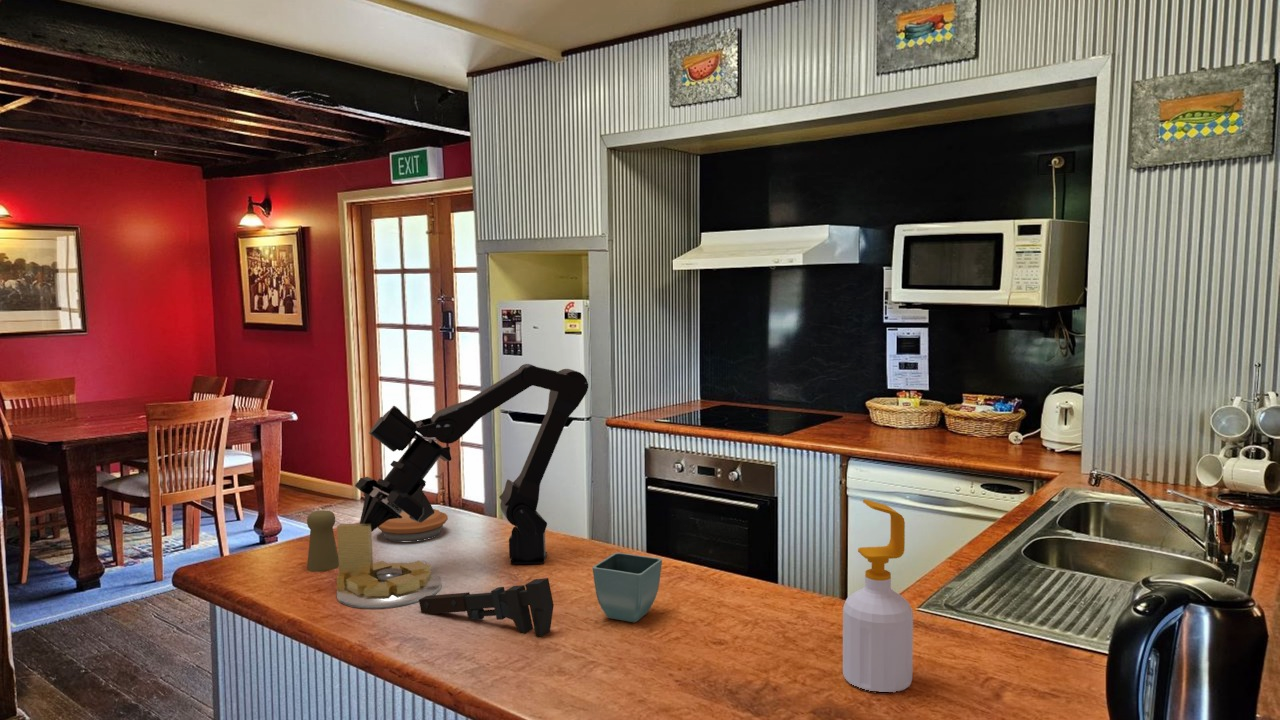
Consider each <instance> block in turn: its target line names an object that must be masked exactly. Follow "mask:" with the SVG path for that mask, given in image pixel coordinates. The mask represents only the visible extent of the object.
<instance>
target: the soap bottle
mask: <svg viewBox="0 0 1280 720" xmlns="http://www.w3.org/2000/svg"><path fill="white" fill-rule="evenodd" d="M862 503H863V504H865V506H867V507H869V508H870V509H872V510H875V511H878V512H882V513H886V514H889V516H890V538H889V539H890V540H889V543H888V544H887V545H884V546H864V547H858V548H857V552H858V553H859V555H861V556H862V557H863V558H864V559H866V560H867V562H869V563H871V568H869V569H868V568H867V569H866V570H865V571H864V572H865V573H864V574H865V575H864V580H865V581H864V586H863V588H860V589H858V590H856V591H854V592H852V594H850V595H848V597H847V598H846V599H845V602H844V605H843V607H842V674H843V677H844V680H845V679H846V680H845V681H846V682H848V683H849V684H850V685H851V684H852V685H851V686H853V685H854V686H853V687H855V686H857V687H859V688H858V689H860V688H862V689H865V690H864V691H866V690H869V691H868V692H870V691H879V692H893V693H896V691H898V692H901V691H905V689H908V688H909V687H910V686H911V685H912V681H913V657H914V656H913V652H914V650H913V649H914V648H913V645H914V643H913V642H914V637H913V636H914V612H913V609H912V606H911V605H910V602H909V601H908V600H907V599H905V597H904V596H903V595H901V594H900V593H898V592H896V591H895V590H893V589H892V588H891V587H892V586H891V585H892V583H891V581H892V579H891V578H892V577H891V575H892V573H891V572H890V571H889V570H887V569H885V565H886V564H888V563H889V561H890V560H891V559H892V560H893V559H899V558H901V557H902V556H903V555H904V553H905V538H906V537H905V536H906V535H905V533H906V531H905V530H906V528H905V527H906V526H905V525H906V522H905V518H904V517H903V515H902V514H900V513H899V512H898V511H896V510H894V509H893V508H892V507H891V506H888V505H887V504H884V503H880V502H878V501H872V500H870V499H865V498H864V499H863V500H862ZM857 687H856V688H857ZM862 689H861V690H862Z"/></svg>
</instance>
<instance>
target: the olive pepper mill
mask: <svg viewBox="0 0 1280 720" xmlns="http://www.w3.org/2000/svg"><path fill="white" fill-rule="evenodd" d="M306 524H307V527H308V528H309V531H310V533H309V540H308V541H309V544H308V554H307V564H306V565H307V566H306V570H307V571H309V572H314V573H317V572H321V573H322V572H327V571H332V570H335V569H337V568H339V560H338V547H337V544H336V539H335V532H334V528H333V527H334V526H335V524H336V516H335V514H334V512H333V511H331V510H328V509H326V510H325V509H323V510H322V509H321V510H320V509H319V510H316V511H312V512H311V513H309V514H308V516H307V518H306Z"/></svg>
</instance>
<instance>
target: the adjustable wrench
mask: <svg viewBox="0 0 1280 720" xmlns="http://www.w3.org/2000/svg"><path fill="white" fill-rule="evenodd" d="M550 585H551V584H550V579H549V577H545V578H534V579H533V580H531V581H529V582H528V583H526V584H524V585H523V584H522V585H513V586H511V587H509V588H508V589H506V590H505V586H498V587H496V588H494V589H492V590H491V591H490V592H482V593H470V592H458V593H457V592H456V593H448V594H447V593H446V594H445V593H444V594H435V595H431V596H425V597H423V598H421V599H419V602H418V604H419V609H420V612H421V614H424V613H425V615H432V614H433V615H435V614H436V615H437V614H448V613H460V612H461V613H463V612H466V614H467V619H469V620H472V619H473V620H474V621H479V620H483V619H484V618H485V617H493V616H495V618H496V620H497V621H502V620H504V619H509V620H512V621H513V624H514V625H515V627H516V628H517V631H518V632H519V633H520V634H522V633H523V635H525V634H527V633H529V632H530V631H532V630H533V629H534V634H535V637H536V638H542V637H544V636H545V635H546V634H548V633H550V631H551V627H552V619H553V612H554V605H555V604H554V600H553V595H552V590H551V586H550ZM493 608H494V609H493Z"/></svg>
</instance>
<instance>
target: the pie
mask: <svg viewBox="0 0 1280 720" xmlns="http://www.w3.org/2000/svg"><path fill="white" fill-rule="evenodd" d="M433 510H434V512H435V513H434V514H432V515H431V516H430V517H428V518H427V519H426V520H424V521H423V522H422V523H420V522H419V521H418V522H417V521H414V520H412V519H411V518H409V517H410V516H409V515H408V514H407V513H405V512H404V511H402V512H401V514H400V515H401V516H402V518H400V519H399V518H395V519H389V520H387V521H386V522H384V523H383V524H381V525H380V526H379V527H377V529H378V530H380V531H381V533H382V534H383V535H384V537H385V538H386V539H387V540H388V539H389V541H390V540H391V542H394V541H417V540H423V541H425V540H424V539H427V540H429V539H428V538H431V539H433V538H435V537H437V536H438V535H439V534H440V532H441V530H442V529H443V527H444V524H446V522H447V521H448V520H449V517H448V514H447V513H445V512H442V511H440V510H439V509H436V508H433ZM434 536H435V537H434ZM432 537H433V538H432ZM417 542H418V541H417Z"/></svg>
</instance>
